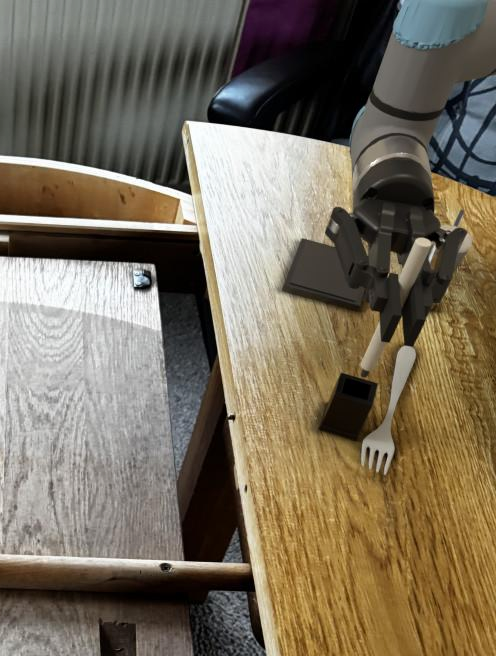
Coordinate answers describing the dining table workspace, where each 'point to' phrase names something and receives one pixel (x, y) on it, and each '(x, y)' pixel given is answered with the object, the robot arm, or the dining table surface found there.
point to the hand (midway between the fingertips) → (403, 330)
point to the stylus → (405, 284)
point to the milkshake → (462, 250)
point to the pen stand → (348, 406)
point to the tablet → (321, 276)
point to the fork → (389, 412)
